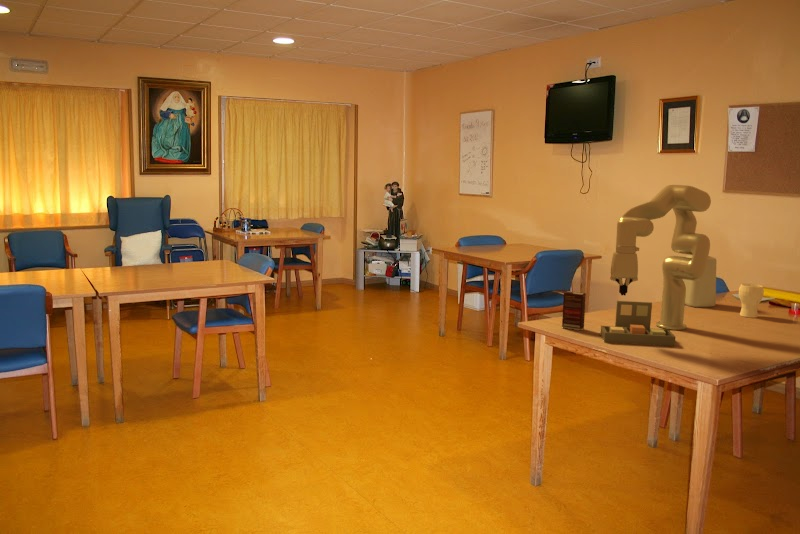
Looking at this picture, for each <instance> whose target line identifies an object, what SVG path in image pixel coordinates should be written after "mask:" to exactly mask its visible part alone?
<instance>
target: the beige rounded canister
mask: <svg viewBox="0 0 800 534" xmlns="http://www.w3.org/2000/svg"><path fill="white" fill-rule="evenodd" d="M685 257H687V258H692V257H693V255H688V254H687V255H685ZM683 281H684V283H685V286H686V297H685V305H686V306H688V307H691V308H712V307H715V306H716V304H717V297H716V296H717V258H716V257H713V256H709V255H708V259H707V264H706V268H705V272H704V275H703V277H702V278H701V279H700V280H698V281H692V280H686V279H683Z"/></svg>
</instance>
